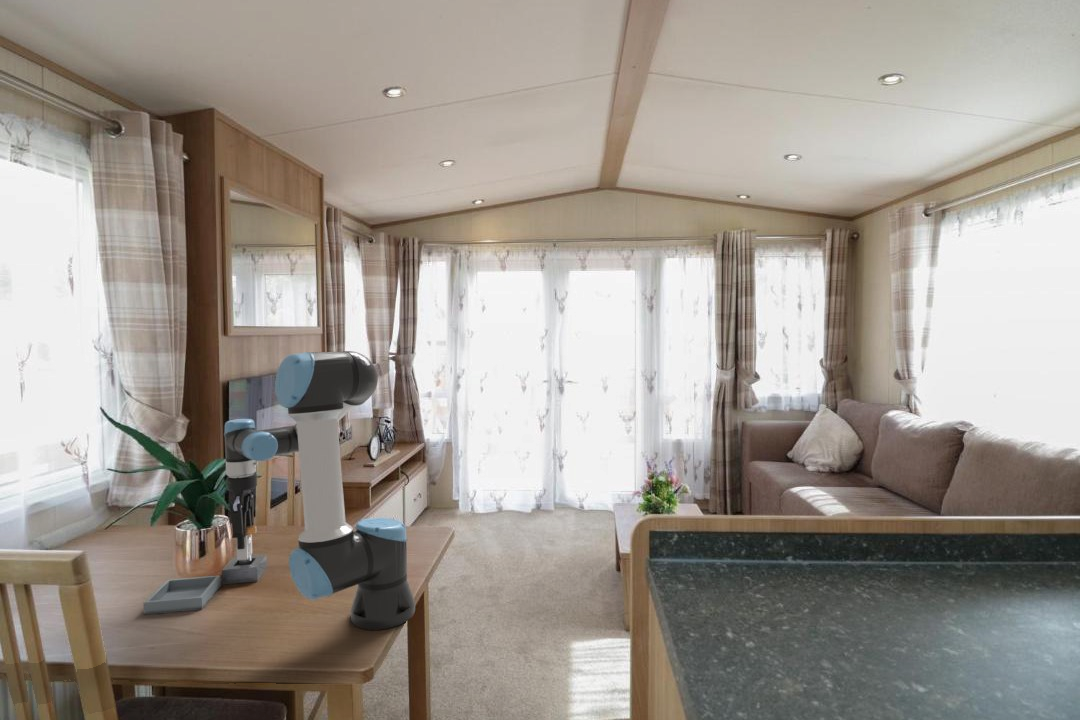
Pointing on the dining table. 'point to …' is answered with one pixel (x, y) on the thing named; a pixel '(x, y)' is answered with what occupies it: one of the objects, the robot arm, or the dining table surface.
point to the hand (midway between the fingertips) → (244, 556)
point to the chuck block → (244, 570)
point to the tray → (182, 595)
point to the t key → (249, 531)
